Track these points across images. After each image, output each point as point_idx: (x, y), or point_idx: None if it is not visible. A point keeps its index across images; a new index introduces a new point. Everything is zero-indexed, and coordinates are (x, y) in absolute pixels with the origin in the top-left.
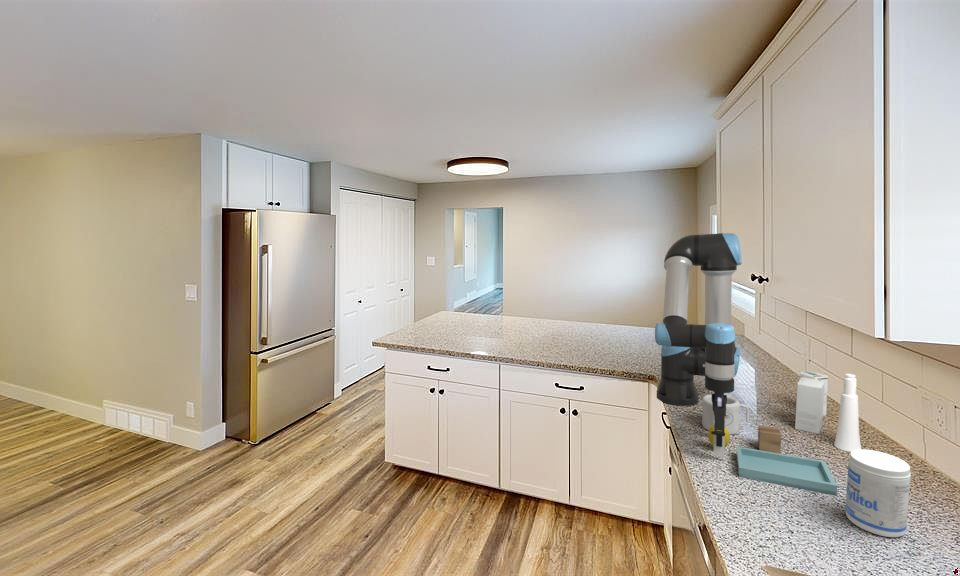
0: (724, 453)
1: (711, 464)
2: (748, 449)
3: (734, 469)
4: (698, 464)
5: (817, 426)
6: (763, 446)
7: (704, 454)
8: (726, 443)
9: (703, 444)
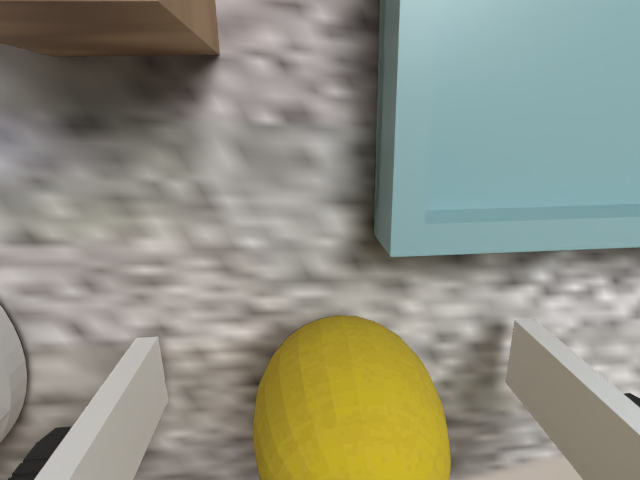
0: (555, 337)
1: None
2: (418, 161)
3: None
4: None
5: None
6: (207, 7)
7: (447, 411)
8: (402, 340)
9: None
